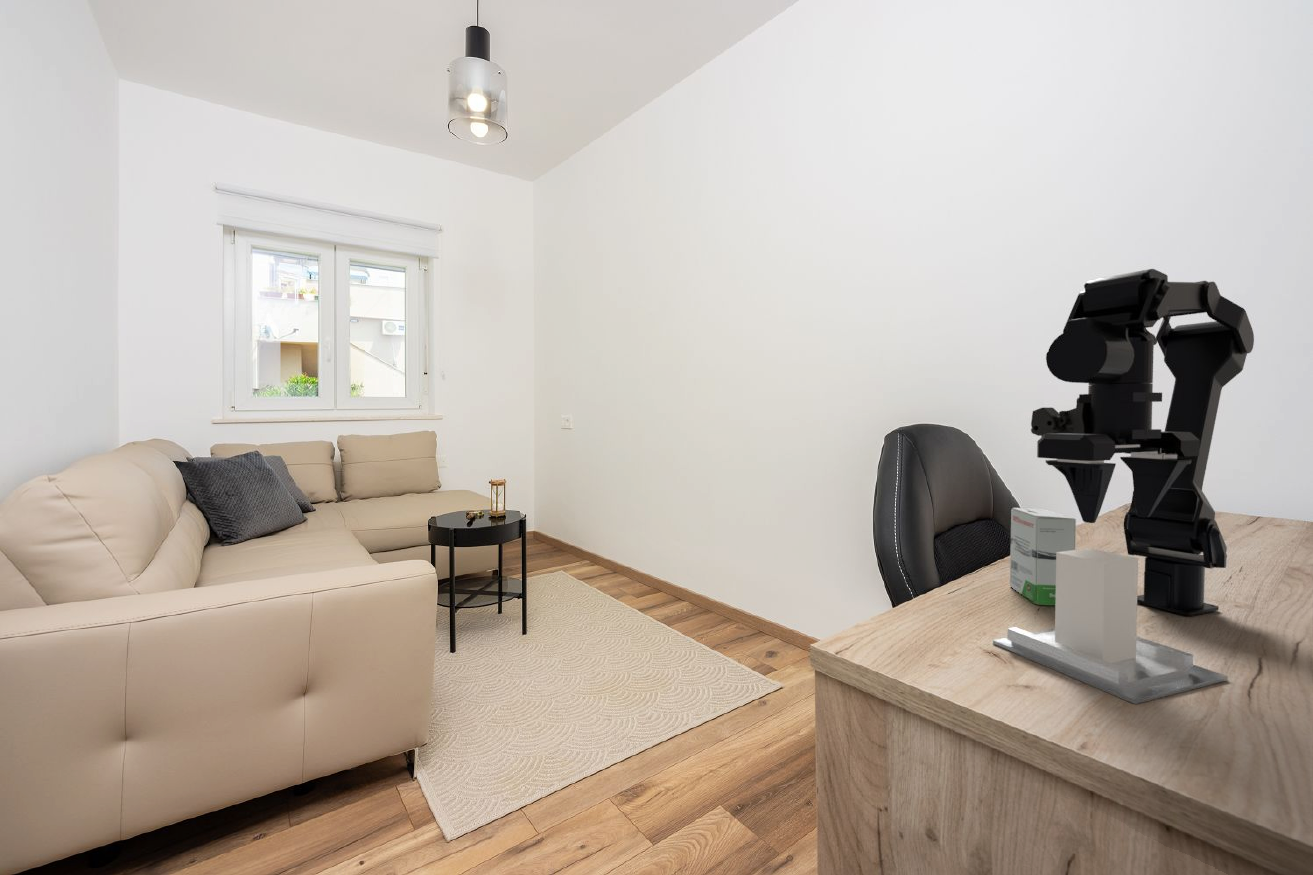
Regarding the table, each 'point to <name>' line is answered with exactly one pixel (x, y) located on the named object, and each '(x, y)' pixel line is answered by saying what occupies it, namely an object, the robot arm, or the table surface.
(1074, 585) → the block
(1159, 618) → the table surface
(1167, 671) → the rail panel
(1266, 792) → the table surface
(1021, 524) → the ink box
